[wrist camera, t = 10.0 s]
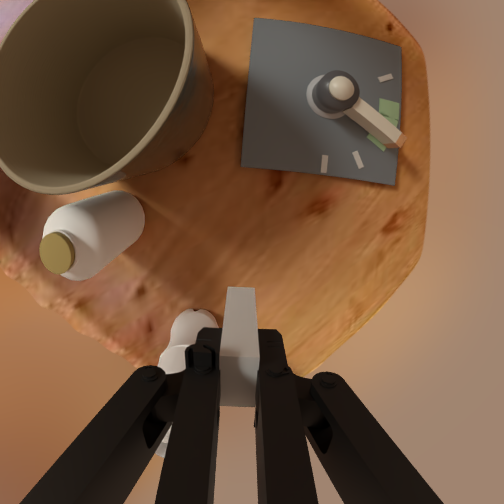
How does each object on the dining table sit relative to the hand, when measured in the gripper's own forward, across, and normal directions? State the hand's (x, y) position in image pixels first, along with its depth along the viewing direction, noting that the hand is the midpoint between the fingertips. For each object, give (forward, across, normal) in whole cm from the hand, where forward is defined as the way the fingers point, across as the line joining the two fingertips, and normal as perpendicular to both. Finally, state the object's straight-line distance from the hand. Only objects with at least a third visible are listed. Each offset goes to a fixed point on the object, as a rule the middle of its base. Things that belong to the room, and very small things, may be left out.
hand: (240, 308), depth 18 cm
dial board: (+26, +11, +18) cm, 34 cm away
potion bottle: (+27, -18, 0) cm, 32 cm away
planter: (+27, -15, +17) cm, 35 cm away
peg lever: (+25, +14, +16) cm, 33 cm away
